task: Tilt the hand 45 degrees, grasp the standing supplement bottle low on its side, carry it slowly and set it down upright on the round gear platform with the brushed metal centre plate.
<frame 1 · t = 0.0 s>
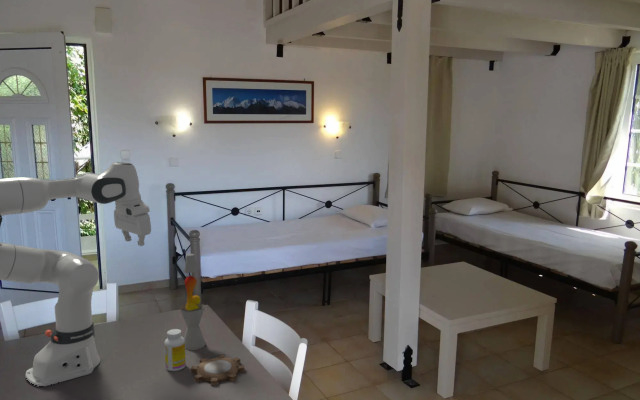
hand: (134, 243, 182), 39 cm above the table, tool pointing down, fingers open, 8 cm apart
supplement bottle: (175, 367, 171), on the table
lava lamp: (193, 345, 188), on the table
gear platform: (217, 371, 168), on the table
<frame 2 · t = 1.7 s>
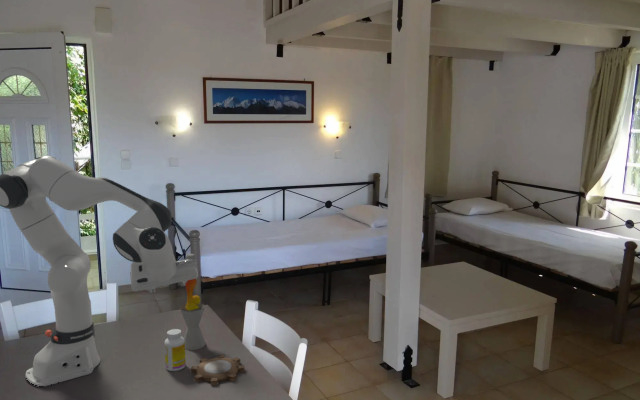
hand: (168, 287, 161), 30 cm above the table, tool tilted 45°, fingers open, 8 cm apart
nothing on the table moved.
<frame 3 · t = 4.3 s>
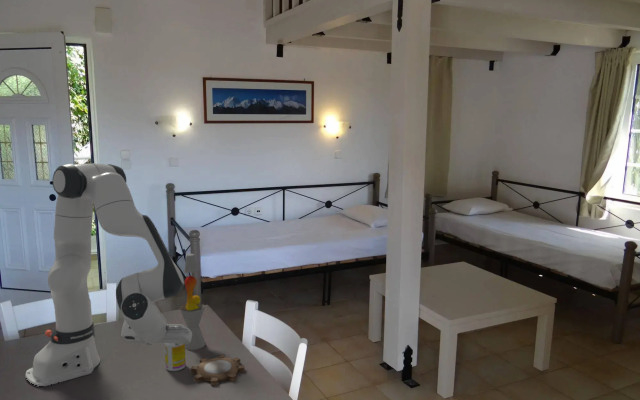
hand: (164, 343, 159), 13 cm above the table, tool tilted 45°, fingers open, 8 cm apart
nothing on the table moved.
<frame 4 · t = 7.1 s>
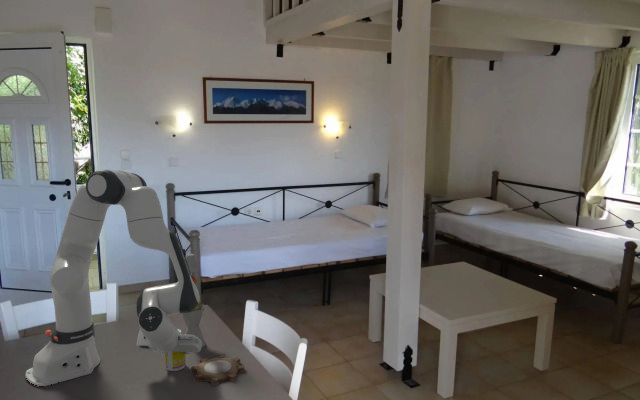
hand: (175, 351, 170), 5 cm above the table, tool tilted 45°, fingers closed on supplement bottle, 7 cm apart
supplement bottle: (175, 367, 171), on the table, touching gripper
everything else where it was.
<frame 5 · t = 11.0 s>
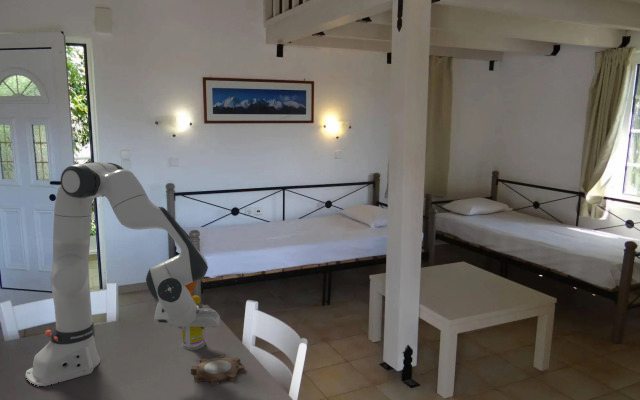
hand: (192, 327, 168), 15 cm above the table, tool tilted 45°, fingers closed on supplement bottle, 7 cm apart
supplement bottle: (193, 343, 168), point 9 cm above the table, touching gripper
everything else where it was.
when the fingers open (9 cm above the table, at t = 15.0 s): supplement bottle drops 2 cm, resting on gear platform.
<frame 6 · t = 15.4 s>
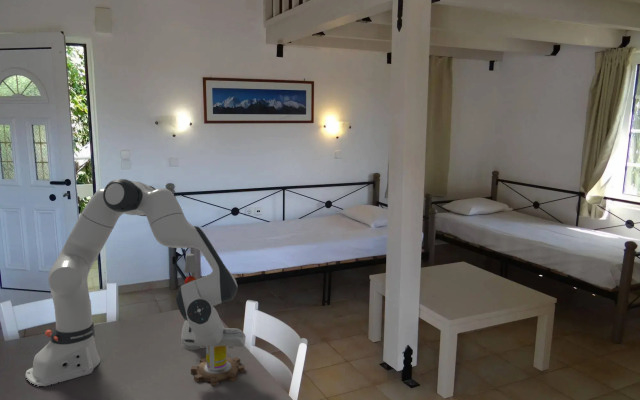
hand: (217, 345, 167), 9 cm above the table, tool tilted 45°, fingers open, 8 cm apart
supplement bottle: (216, 367, 168), point 2 cm above the table, touching gear platform
everything else where it was.
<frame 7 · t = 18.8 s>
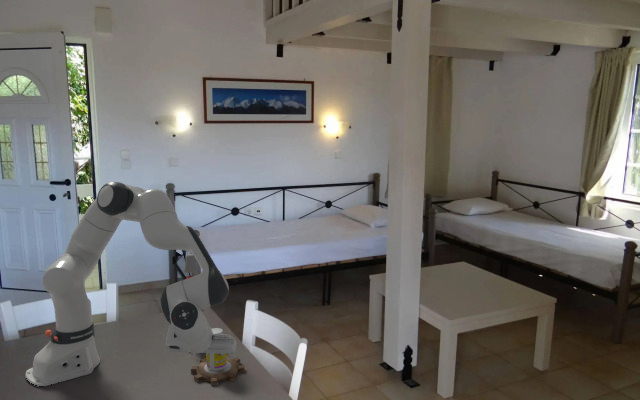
hand: (206, 352, 153), 13 cm above the table, tool tilted 45°, fingers open, 8 cm apart
nothing on the table moved.
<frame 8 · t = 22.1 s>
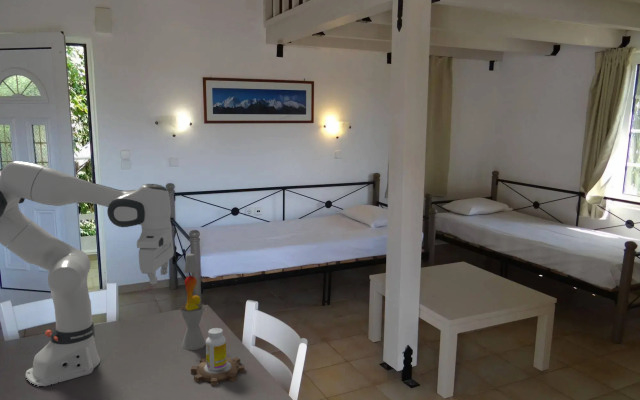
hand: (159, 278, 157), 34 cm above the table, tool pointing down, fingers open, 8 cm apart
nothing on the table moved.
at the end: supplement bottle inside the target area on the gear platform (0.4 cm from its centre), point 1.5 cm above the gear platform's base; supplement bottle tilted 0°; the gripper is holding nothing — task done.
